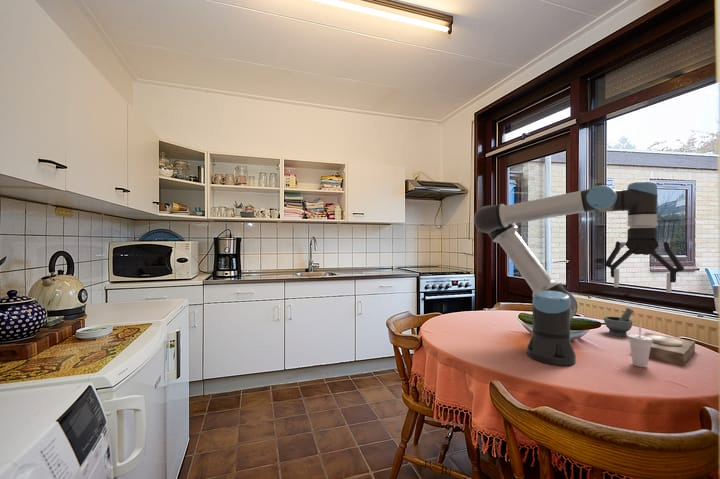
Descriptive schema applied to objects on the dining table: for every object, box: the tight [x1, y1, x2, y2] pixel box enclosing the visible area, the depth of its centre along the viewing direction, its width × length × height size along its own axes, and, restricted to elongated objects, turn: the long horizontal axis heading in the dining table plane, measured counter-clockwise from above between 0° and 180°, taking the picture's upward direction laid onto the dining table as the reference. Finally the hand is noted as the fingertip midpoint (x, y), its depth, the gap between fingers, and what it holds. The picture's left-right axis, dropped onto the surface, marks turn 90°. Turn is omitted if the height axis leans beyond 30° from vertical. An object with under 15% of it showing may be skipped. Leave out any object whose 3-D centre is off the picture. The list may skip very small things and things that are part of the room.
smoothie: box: [627, 323, 653, 368], centre depth 107 cm, size 6×6×14 cm
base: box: [642, 332, 696, 366], centre depth 120 cm, size 14×22×5 cm, turn 126°
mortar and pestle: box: [603, 307, 634, 337], centre depth 142 cm, size 11×9×12 cm
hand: (641, 289), depth 107 cm, fingers open, 13 cm apart
